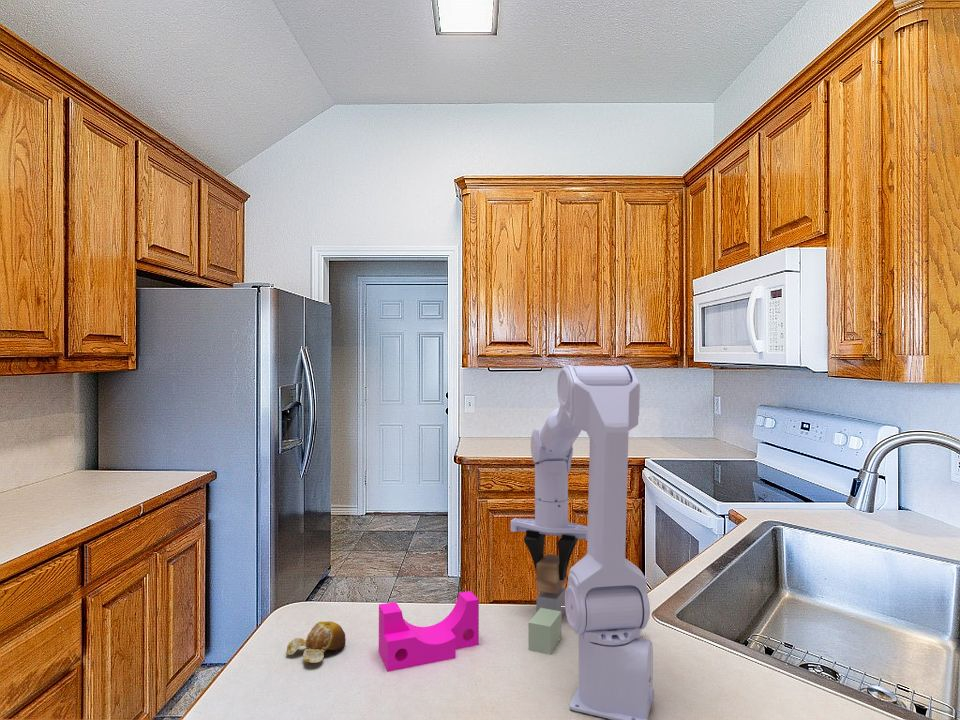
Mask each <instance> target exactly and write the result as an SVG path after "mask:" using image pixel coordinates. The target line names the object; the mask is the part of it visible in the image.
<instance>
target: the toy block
mask: <svg viewBox="0 0 960 720" xmlns="http://www.w3.org/2000/svg"><path fill="white" fill-rule="evenodd" d="M479 616H480V599H479V598H478V597H477V596H476V595H475V594H474V593H473V592H472V591H471V590H468V591H461V592H460V591H459V592H458V596H457V599H456V603H455V605H454V607H453V608H452V610H451V611H450V612H449V614H447V616H446V617H445V618H444V619H442V620H441V621H439V622H437V623H435V624H432V625H427V626H417V625H414V624H412V623H409V622H408V621H407V620H405V619H404V615H403V611H402V609H401V607H400V606H399V604H398V603H397V601H394V602H393V601H392V602H386V603H379V604H378V654H379V656H380V658H381V660H382V661H381V662H382V663H383V666H384V667H385V670H386V672H393V671H398V670H404V669H409V668H413V667H419V666H424V665H428V664H434V663H437V662H438V663H440V662H444V661H449V660H453V659H456V657H457V652H456V651H457V650H461V649H466V648H471V647H476V646H479V645H480V644H479V643H480V640H479V639H480V638H479V637H480V633H479V632H480V630H479V629H480V622H479V621H480V617H479Z"/></svg>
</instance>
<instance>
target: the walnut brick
mask: <svg viewBox="0 0 960 720" xmlns="http://www.w3.org/2000/svg"><path fill="white" fill-rule="evenodd" d="M535 574H536V577H535V579H536V581H535V582H536V586H535V587H536V591H537V592H541V591H542V592H548V593H554V594H556V593H557V592H558V591H559V590H560V588H561V587H563V586H564V585H565V584H566V580H567V579H566V578H567V577H566V578H565V579H564V580H559V554H550V553H546V554H544V557H543V558H542V559H541V560H540V561H539V562H538V563H537V564H536V570H535Z"/></svg>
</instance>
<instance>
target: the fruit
mask: <svg viewBox="0 0 960 720" xmlns="http://www.w3.org/2000/svg"><path fill="white" fill-rule="evenodd" d="M346 638H347V637H346V633H345V631H344V629H343V627H342V626H341V625H340V624H338V623H337V622H334V621H329V620H328V621H327V620H325V621H319V622H317V623H315V624H314V625H313V627H312V628H311V630H310V632H309V633H308V634H307V637H306V638H305V640H304V638H302V637H301V638H300V637H296V638H294V639H292V640H291V641H289V642H288V644H287V647H286V652H285V653H286V655H294V654H295V653H296V652H297V650H298V649H300V648H301V647H305V648H306V649H304V650H303V654H302V657H303V662H304V663H311V664H312V663H313V664H314V663H315V664H316V663H317V664H318V663H320V662H322V661H323V660H324V658H325V657H324V656H325V652H326V651H328V650H332V651H335V652H336V651H341V650H343V648H344V647H345V646H346V641H347V639H346Z"/></svg>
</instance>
